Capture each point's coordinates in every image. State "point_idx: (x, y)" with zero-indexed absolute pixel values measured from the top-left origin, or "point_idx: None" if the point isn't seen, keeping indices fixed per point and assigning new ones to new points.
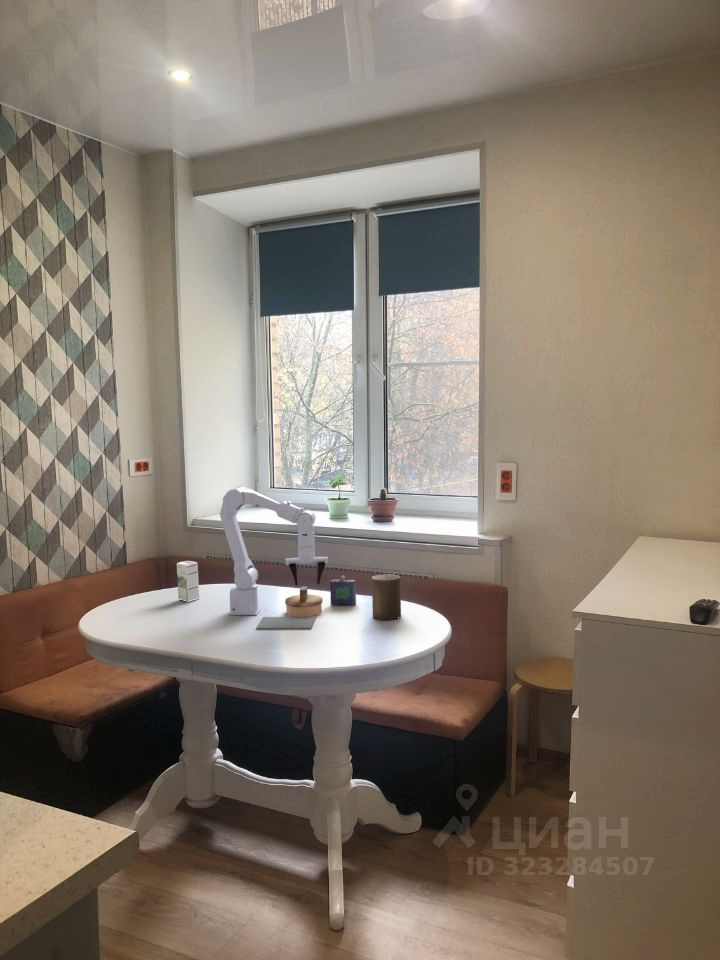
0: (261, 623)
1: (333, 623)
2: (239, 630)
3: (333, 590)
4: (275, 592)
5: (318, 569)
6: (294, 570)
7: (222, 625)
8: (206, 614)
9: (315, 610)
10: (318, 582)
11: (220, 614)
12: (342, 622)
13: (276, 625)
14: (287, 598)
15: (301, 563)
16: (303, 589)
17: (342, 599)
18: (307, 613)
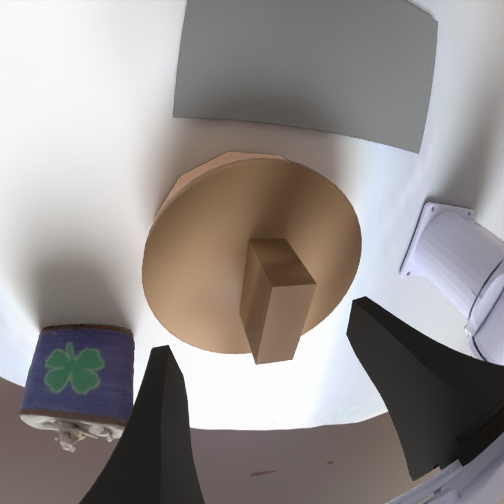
0: (427, 64)
1: (73, 32)
2: (467, 41)
3: (113, 383)
4: (323, 404)
5: (157, 490)
6: (473, 379)
7: (494, 114)
8: (495, 225)
9: (178, 187)
10: (159, 358)
11: (481, 223)
12: (30, 57)
13: (376, 10)
14: (344, 289)
15: (404, 499)
16: (287, 297)
17: (77, 345)
18: (225, 158)
